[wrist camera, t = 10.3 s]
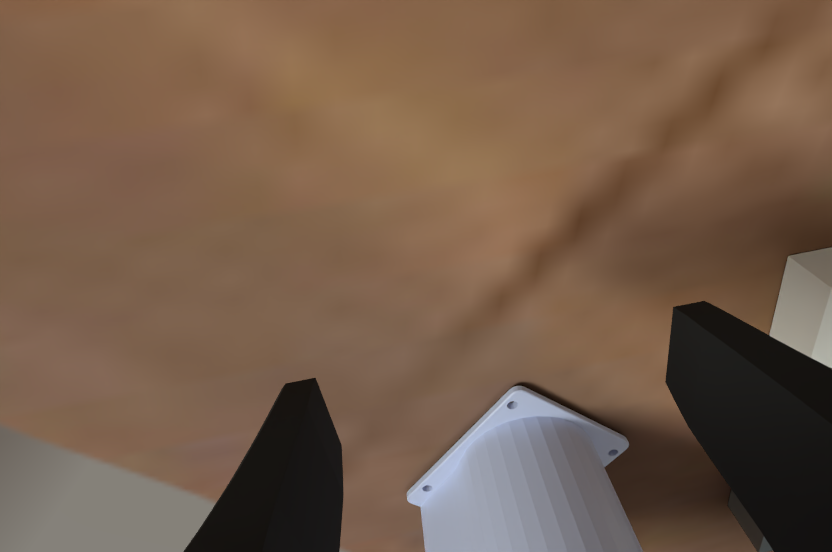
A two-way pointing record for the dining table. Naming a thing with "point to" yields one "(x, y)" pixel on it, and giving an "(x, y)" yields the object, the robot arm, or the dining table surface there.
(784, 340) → the camera body
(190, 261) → the dining table surface
